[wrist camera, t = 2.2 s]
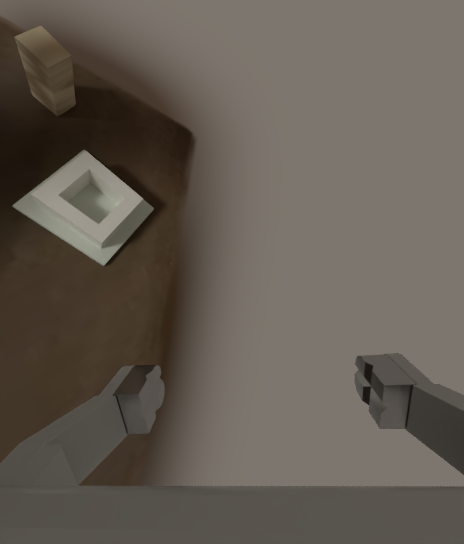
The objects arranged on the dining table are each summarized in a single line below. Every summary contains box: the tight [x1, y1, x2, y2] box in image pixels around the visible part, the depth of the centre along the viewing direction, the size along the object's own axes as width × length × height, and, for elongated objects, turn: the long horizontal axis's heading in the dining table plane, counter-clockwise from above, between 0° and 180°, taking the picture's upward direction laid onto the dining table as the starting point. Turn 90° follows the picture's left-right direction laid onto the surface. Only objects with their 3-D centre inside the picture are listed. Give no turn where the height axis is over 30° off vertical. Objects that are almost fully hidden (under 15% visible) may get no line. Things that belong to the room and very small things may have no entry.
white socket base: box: [13, 150, 154, 266], centre depth 35 cm, size 14×14×6 cm
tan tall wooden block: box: [15, 26, 76, 117], centre depth 32 cm, size 4×4×9 cm
